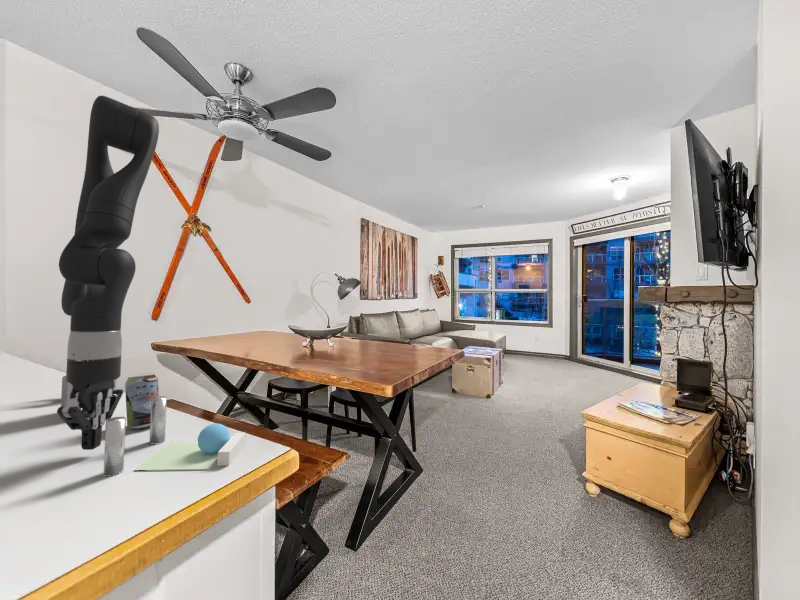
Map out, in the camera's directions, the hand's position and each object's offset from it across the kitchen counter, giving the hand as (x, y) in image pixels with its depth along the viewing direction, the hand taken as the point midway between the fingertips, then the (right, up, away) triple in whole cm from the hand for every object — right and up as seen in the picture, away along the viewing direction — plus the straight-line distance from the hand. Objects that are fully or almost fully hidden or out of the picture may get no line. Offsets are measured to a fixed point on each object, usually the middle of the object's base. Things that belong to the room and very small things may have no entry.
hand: (91, 447), depth 63 cm
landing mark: (+17, -2, +2) cm, 17 cm away
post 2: (+7, -2, +7) cm, 10 cm away
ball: (+21, 0, +4) cm, 21 cm away
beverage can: (-2, -2, +15) cm, 15 cm away
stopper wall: (+25, -3, +3) cm, 25 cm away
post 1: (+9, -2, -5) cm, 10 cm away
